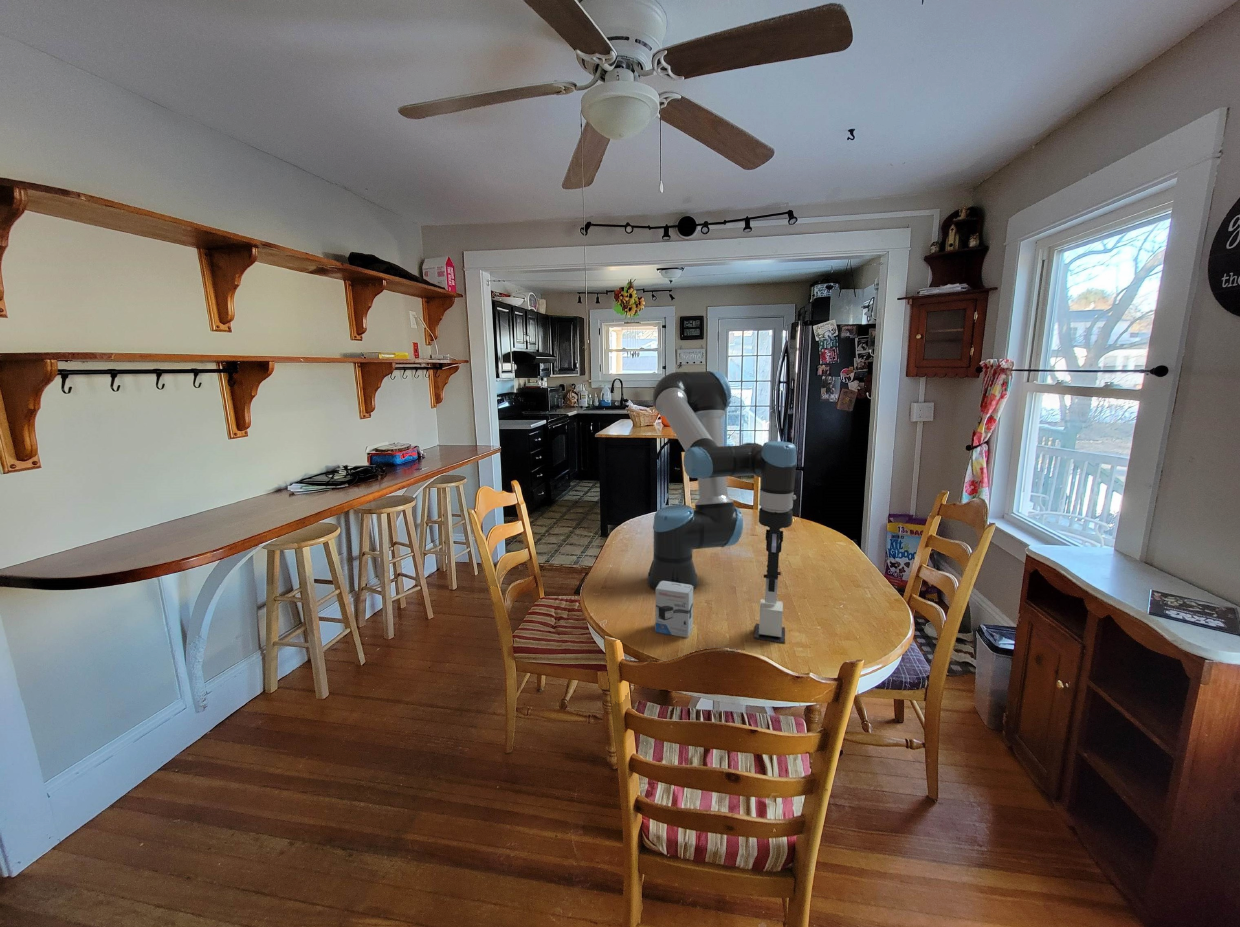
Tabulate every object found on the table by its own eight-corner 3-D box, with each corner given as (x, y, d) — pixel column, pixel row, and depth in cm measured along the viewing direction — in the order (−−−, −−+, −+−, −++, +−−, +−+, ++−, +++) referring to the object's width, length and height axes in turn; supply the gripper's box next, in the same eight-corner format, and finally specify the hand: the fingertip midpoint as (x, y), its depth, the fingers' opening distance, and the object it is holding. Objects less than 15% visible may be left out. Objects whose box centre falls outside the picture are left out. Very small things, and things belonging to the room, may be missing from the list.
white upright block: (758, 633, 123) (759, 608, 121) (759, 623, 128) (760, 599, 126) (781, 636, 121) (782, 611, 120) (781, 626, 126) (782, 601, 125)
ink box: (654, 632, 126) (654, 587, 124) (660, 623, 130) (660, 580, 128) (688, 638, 123) (689, 593, 121) (692, 629, 127) (693, 584, 125)
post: (754, 638, 122) (755, 611, 121) (755, 625, 129) (757, 599, 128) (784, 643, 120) (786, 615, 119) (784, 629, 127) (786, 602, 126)
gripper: (793, 517, 112) (787, 616, 116) (792, 502, 124) (786, 592, 128) (758, 514, 114) (753, 611, 118) (760, 499, 126) (756, 588, 131)
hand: (770, 601), depth 123 cm, fingers closed
